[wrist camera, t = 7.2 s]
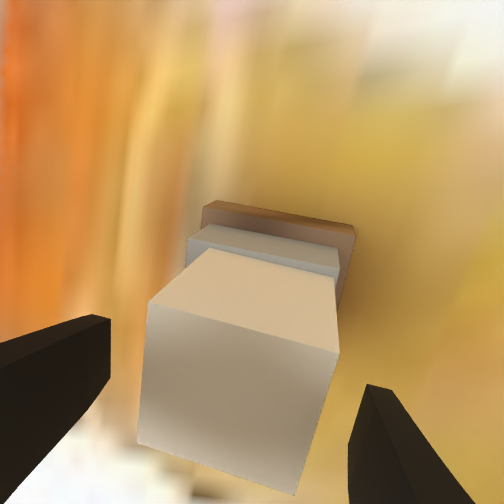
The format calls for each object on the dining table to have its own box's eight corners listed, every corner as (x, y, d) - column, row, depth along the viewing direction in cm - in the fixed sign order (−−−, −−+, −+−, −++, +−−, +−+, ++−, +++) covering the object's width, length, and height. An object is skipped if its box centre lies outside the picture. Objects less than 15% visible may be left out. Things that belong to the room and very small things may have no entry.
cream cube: (333, 277, 11) (339, 353, 7) (303, 382, 13) (294, 495, 9) (209, 247, 12) (147, 301, 8) (194, 350, 13) (136, 442, 9)
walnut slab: (351, 222, 16) (356, 236, 13) (322, 340, 18) (322, 369, 15) (219, 199, 17) (202, 207, 14) (206, 312, 19) (190, 336, 16)
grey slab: (337, 248, 14) (340, 268, 11) (311, 359, 15) (308, 397, 13) (209, 223, 14) (187, 237, 12) (198, 332, 16) (177, 363, 14)
